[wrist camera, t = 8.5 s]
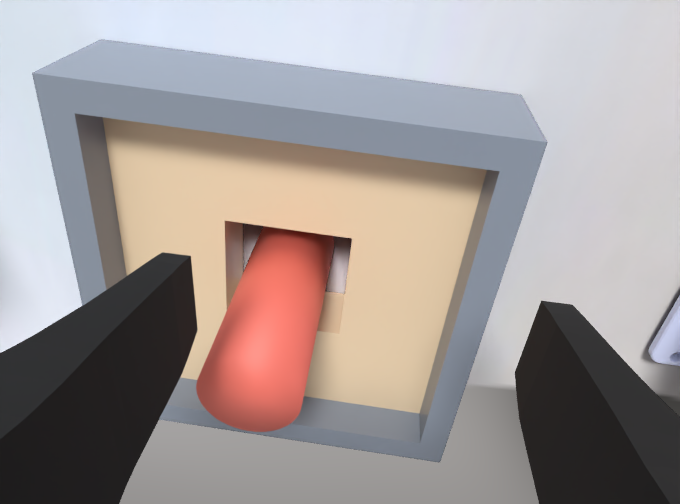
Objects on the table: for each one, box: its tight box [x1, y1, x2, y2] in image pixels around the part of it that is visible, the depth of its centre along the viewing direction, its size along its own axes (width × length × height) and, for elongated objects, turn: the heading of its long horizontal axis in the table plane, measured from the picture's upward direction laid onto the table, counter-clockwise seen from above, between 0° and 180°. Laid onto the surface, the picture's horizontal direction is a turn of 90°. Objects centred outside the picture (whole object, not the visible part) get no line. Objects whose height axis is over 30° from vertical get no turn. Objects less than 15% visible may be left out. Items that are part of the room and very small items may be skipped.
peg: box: [196, 226, 334, 432], centre depth 18 cm, size 3×3×8 cm
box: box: [32, 40, 547, 462], centre depth 20 cm, size 14×14×4 cm
